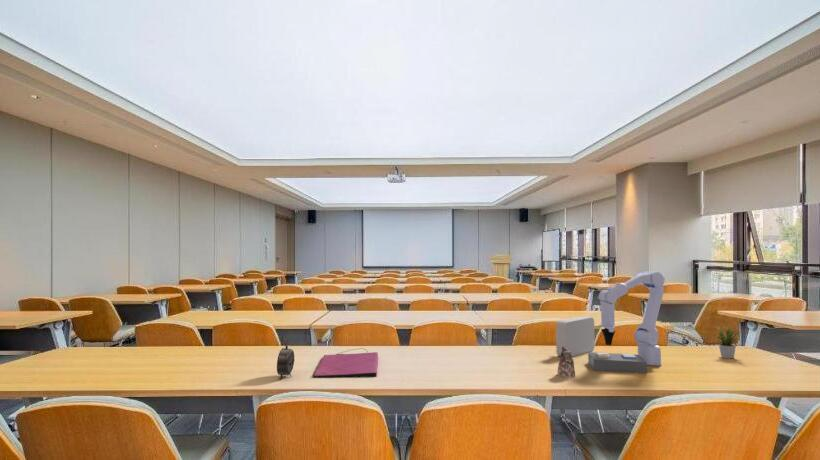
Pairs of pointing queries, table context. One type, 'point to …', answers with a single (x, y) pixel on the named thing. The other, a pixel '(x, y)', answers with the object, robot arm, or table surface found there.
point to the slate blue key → (628, 356)
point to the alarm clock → (285, 361)
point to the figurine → (566, 364)
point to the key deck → (617, 363)
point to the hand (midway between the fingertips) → (608, 344)
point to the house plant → (727, 343)
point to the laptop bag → (348, 365)
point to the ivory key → (603, 355)
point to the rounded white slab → (575, 335)
